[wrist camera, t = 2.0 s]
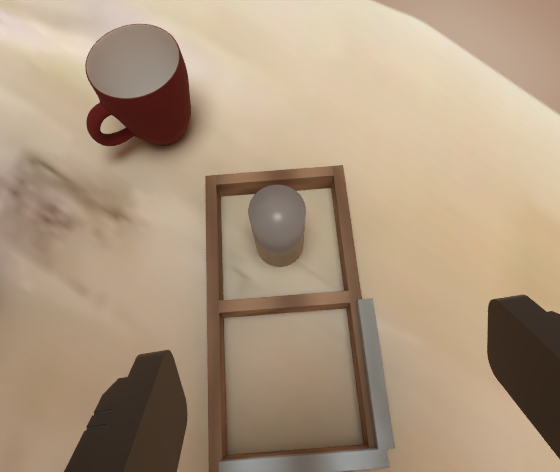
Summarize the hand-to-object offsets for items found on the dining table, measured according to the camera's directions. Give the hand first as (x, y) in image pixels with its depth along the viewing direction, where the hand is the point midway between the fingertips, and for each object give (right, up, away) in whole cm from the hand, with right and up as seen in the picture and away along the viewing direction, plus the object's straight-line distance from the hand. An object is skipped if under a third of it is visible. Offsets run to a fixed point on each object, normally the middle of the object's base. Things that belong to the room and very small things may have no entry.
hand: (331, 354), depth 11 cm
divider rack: (-1, -3, +27) cm, 28 cm away
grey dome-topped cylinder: (-1, +2, +29) cm, 30 cm away
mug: (-14, +13, +34) cm, 39 cm away
